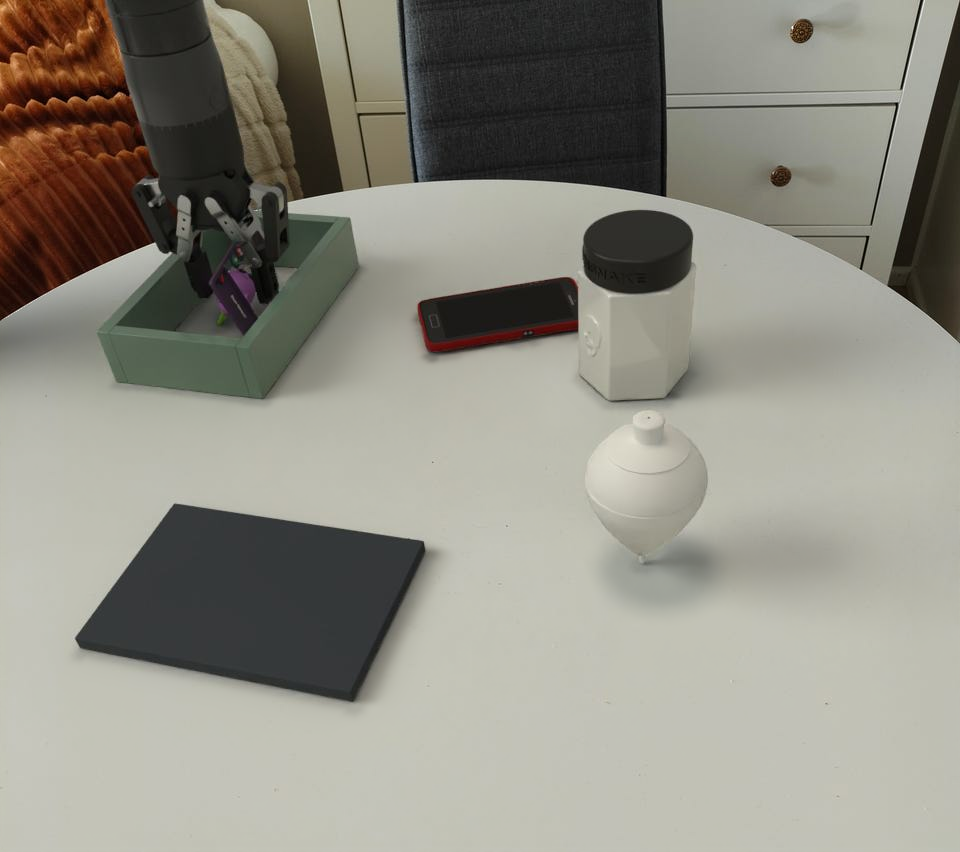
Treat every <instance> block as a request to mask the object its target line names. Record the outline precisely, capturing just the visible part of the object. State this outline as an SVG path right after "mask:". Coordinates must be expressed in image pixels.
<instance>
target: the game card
mask: <svg viewBox="0 0 960 852" xmlns="http://www.w3.org/2000/svg"><path fill="white" fill-rule="evenodd" d="M233 251H234V252H235V254H234V253H233ZM244 258H245V256H244V253H243V252H242V250H241V249H240V247H239V246H235V245H234V244H233V243H232V244H231V246H230V247H229V249H228V251H227V252H226V254H225V256H224V257H223V259H222V261H221V262H220V264H219V266H218V268H217V269H216V271H215V273H214V274H213V276H212V278H211V279H210V281H209V285H210V287H211V288H212V290H213V291H214V293H213V294H215V296H216V303H217V306H218V308H219V310H220V311H221V313H220V314H219V317H218V319H217V321H216V324H217V326H221V325H222V324H223V322H224V321H225V319H226V318H227V316H229V317H230V319H231V320H232V321H233V323H234V325H235V326H236V328H237V329H238V330H239V332H240V333H241V336H242V337H243V336H244V335H245V334H246V333H247V331H248V330H249V329H250V328H251V326H252V325H253V324H254V323H255V321H256V320H257V319H258V318H259V316H258V315H257V314H256V312H255V311H254V309H253V308H252V306H251V303H252V302H253V300H254V298H255V297H256V295H257V294H256V290H255V286H254V282H253V279H252V275H251V272H249V271H247V270H245V266H244V265H241V263H240V262H239V260H240V261H243V259H244ZM228 259H230V262H231V268H229V269H228V270H227V269H226V267H225V264H226V263H227V261H228ZM279 291H280V290H278V292H277V293H276V294H275V296H276V295H277V294H278V293H279ZM274 298H275V297H274ZM274 298H273V299H274ZM273 299H272V300H273ZM272 300H271V301H272ZM270 303H271V302H270ZM270 303H269V304H270Z"/></svg>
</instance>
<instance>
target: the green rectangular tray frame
mask: <svg viewBox="0 0 960 852" xmlns="http://www.w3.org/2000/svg"><path fill="white" fill-rule="evenodd" d="M254 212H255V213H256V215H257V216H258V218H259V220H260V222H261V229H262V231H263V232H264V227H263V214H262V215H260V214H259V213H258V210H254ZM288 218H289V236H290V246H289V248H288V249H287V250H286V251H285V252H284V254H283V255H282V256H281V257H280V258H279V260H278V261H277V262H273V263H274V267H283V268H296V270H295V271H294V272H293V274H292V275H291V276H290V278H289V279H288V280H287V282H285V284H284V285H283V286H282V287H281V289H280V290H278V291H279V293H278V294H277V295H276V296H275V298H274V299H273V300H272V301H271V303H269V304H267V306H266V308H265V309H264V310H263V311H262V312H261V313H260V315H259V316H258V319H257V320H256V321H255V323H254V324H253V325H252V326H251V328H250V329H249V330H248V331H247V333H246V334H245V335H244V336H243V335H242V338H241V337H240V338H239V337H232V336H231V337H230V336H221V335H213V334H212V335H211V334H203V333H202V334H201V333H192V332H184V331H183V332H182V331H175V330H176V329H177V328H178V327H179V326H180V325H181V323H182V322H183V321H184V320H185V319H186V318H187V316H188V315H190V314H191V312H192V311H193V310H194V309H195V307H196V306H198V305H199V303H200V302H201V301H202V299H201V298H199V297H198V294H197V292H195V291H194V290H193V288H192V287H191V284H190V280H189V276H188V274H187V271H186V268H185V265H184V262H183V261H182V260H180V259H179V257H178V255H176V254H174V253H170V255H169V256H167V258H166V259H165V260H164V261H163V262H162V263H161V264H160V265H158V267H157V268H156V269H155V270H154V271H153V272H152V273H151V274H150V275H149V276H148V277H147V278H146V279H145V280H144V281H143V282H142V284H140V286H138V288H137V289H136V290H135V291H134V292H133V293H132V294H131V295H130V296H129V297H128V298H127V299H126V300H125V301H124V302H123V303H122V304H121V305H120V306H119V307H118V308H117V309H116V311H114V312H113V314H111V316H110V317H109V318H108V319H107V320H106V321H104V323H103V324H102V325H101V326H100V327H99V328H98V329H96V330H95V332H96V335H97V337H98V340H99V342H100V344H101V347H102V350H103V352H104V355H105V357H106V359H107V360H106V361H107V362H108V364H109V367H110V369H111V372H112V374H113V377H114V379H115V382H117V383H125V384H134V385H143V386H151V387H159V388H167V389H174V390H175V389H177V390H184V391H192V392H201V393H209V394H216V395H225V396H234V397H243V398H244V397H245V398H252V399H253V398H254V399H260V400H263V399H264V398H265V397H266V395H267V394H268V393H269V391H270V390H271V388H272V387H273V386H274V385H275V383H276V381H277V380H278V379H279V377H280V376H281V375H282V373H283V372H284V371H285V369H286V368H287V366H288V365H289V364H290V362H291V361H292V359H293V358H294V357H295V355H296V354H297V353H298V351H299V350H300V349H301V347H302V346H303V344H304V343H305V342H306V341H307V339H308V338H309V336H310V334H311V333H312V332H313V331H314V329H315V328H316V326H317V325H318V324H319V322H320V321H321V320H322V319H323V317H324V316H325V314H326V313H327V311H328V310H329V309H330V307H331V306H332V304H333V303H334V301H335V300H336V299H337V297H338V296H339V295H340V293H341V292H342V291H343V289H344V288H345V286H346V285H347V284H348V282H349V281H350V279H351V278H352V277H353V276H354V275H355V273H356V271H357V270H358V268H359V267H360V263H359V258H358V253H357V248H356V241H355V237H354V231H353V225H352V224H353V223H352V219H351V217H349V216H337V215H323V214H307V213H293V212H292V213H291V212H288ZM238 226H239V227H240V229H241V228H242V227H243V220H242V221H241V222H240V223H239V224H238ZM231 244H232V242H231V240H230V239H229V237H228V236H227V234H226V233H225V232H220V231H217V230H214V229H208V230H204V232H203V241H202V247H201V251H206V253H207V257H208V260H209V263H210V267H211V270H212V274H214V273H215V271H216V269H217V268H218V266H219V264H220V262H221V261H222V259H223V257H224V256H225V254H226V252H227V251H228V249H229V247H230V246H231ZM233 253H234V254H235V252H234V251H233ZM244 256H245V255H244ZM239 262H240V264H248V265H251V264H250V262H249V261H248V259H247V258H246V256H245V258H244V259H243V261H240V260H239ZM225 267H226V269H227V270H228V271H229V269H231V267H232V265H231V262H230V259H228V261H227V263H226V264H225Z"/></svg>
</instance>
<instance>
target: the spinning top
mask: <svg viewBox="0 0 960 852" xmlns="http://www.w3.org/2000/svg"><path fill="white" fill-rule="evenodd" d="M708 483H709V478H708V468H707V465H706V460H705V459H704V456H703V455H702V453H701V451H700V450H699V448H698V447H697V445H696V444H695V443H694V442H693V440H691V439H690V438H689V437H688V436H687V435H686V434H685V433H684V432H683V431H682V430H680V429H679V428H678V427H676V426H674V425H671V424H668V423H666V418H665V417H664V415H663V414H662V413H661V412H659V411H657V410H653V409H647V410H641V411H639V412H637V413H635V414H634V416H633V417H632V422H630V423H626V424H624V425H622V426H620V427H617V429H615V430H614V431H612V432H611V434H610V435H608V436H606V438H604V439H603V440H602V441H601V442H600V443H599V444H598V446H597V447H596V448H595V449H594V451H593V453H592V454H591V456H590V458H589V460H588V462H587V465H586V469H585V474H584V487H585V494H586V498H587V500H588V503H589V505H590V507H591V509H592V511H593V512H594V515H595V516H596V517H597V519H598V520H599V522H600V523H601V524H602V526H603V527H604V528H605V530H606V531H607V532H608V533H609V534H611V536H613V537H614V538H615V539H616V540H617V541H618V542H619V543H620V544H621V545H622V546H624V547H625V548H626V549H628V550H629V551H631V552H632V553H634V554H635V555H638V563H639V564H641V565H644V564H645V562H646V556H647V555H650V554H652V553H654V552H655V551H658V550H659V549H660V548H662V547H664V546H665V545H666V544H667V543H669V542H670V541H672V540H673V539H674V538H675V537H676V536H678V535H679V534H680V533H681V532H682V531H683V530H684V529H685V528H686V526H687V525H688V524H689V523H690V522H691V521H692V519H694V517H696V515H697V513H698V511H699V510H700V509H701V507H702V504H703V502H704V500H705V498H706V494H707V490H708Z"/></svg>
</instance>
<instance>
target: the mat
mask: <svg viewBox="0 0 960 852" xmlns="http://www.w3.org/2000/svg"><path fill="white" fill-rule="evenodd" d="M425 553H426V545H425V541H424V540H419V539H412V538H406V537H400V536H394V535H386V534H380V533H373V532H366V531H361V530H354V529H346V528H341V527H334V526H327V525H320V524H314V523H308V522H301V521H294V520H287V519H282V518H281V519H280V518H274V517H268V516H262V515H254V514H248V513H241V512H235V511H228V510H221V509H215V508H208V507H201V506H195V505H188V504H182V503H176V502H174V503H173V504H172V505H171V507H170V508H169V509H168V511H167V513H166V514H165V515H164V516H163V518H162V519H161V520H160V522H159V523H158V524H157V526H156V527H155V529H154V530H153V531H152V533H151V534H150V535H149V537H148V538H147V539H146V541H145V542H144V543H143V545H142V546H141V547H140V549H139V550H138V551H137V553H136V554H135V556H134V557H133V558H132V560H131V561H130V563H129V564H128V565H127V567H126V568H125V569H124V571H123V572H122V573H121V575H120V576H119V578H118V579H117V580H116V582H114V584H113V585H112V587H111V588H110V590H108V592H107V593H106V595H105V597H103V599H102V600H101V602H100V603H99V604H98V606H97V607H96V609H95V610H94V611H93V613H92V614H91V615H90V617H89V618H88V619H87V621H86V622H85V624H84V625H83V626H82V627H81V629H80V630H79V632H78V633H77V634H76V635H75V637H74V640H75V642H76V643H77V645H78V647H79V648H80V649H84V650H89V651H94V652H99V653H105V654H110V655H115V656H120V657H126V658H130V659H134V660H139V661H145V662H151V663H156V664H161V665H165V666H170V667H171V666H172V667H177V668H180V669H186V670H191V671H196V672H201V673H206V674H211V675H217V676H221V677H227V678H231V679H237V680H240V681H241V680H242V681H245V682H246V681H247V682H251V683H257V684H263V685H268V686H272V687H276V688H277V687H278V688H282V689H287V690H292V691H298V692H303V693H308V694H313V695H318V696H324V697H327V698H334V699H338V700H342V701H343V700H344V701H347V702H354V700H355V698H356V696H357V695H358V693H359V690H360V688H361V686H362V683H363V682H364V679H365V678H366V676H367V673H368V671H369V669H370V667H371V665H372V663H373V661H374V658H375V657H376V655H377V653H378V651H379V649H380V646H381V644H382V642H383V640H384V638H385V636H386V634H387V632H388V630H389V627H390V625H391V623H392V622H393V620H394V617H395V615H396V613H397V611H398V609H399V608H400V605H401V603H402V601H403V599H404V597H405V594H406V593H407V590H408V588H409V586H410V584H411V582H412V580H413V578H414V576H415V574H416V572H417V569H418V567H419V565H420V563H421V561H422V559H423V557H424V555H425Z"/></svg>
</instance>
